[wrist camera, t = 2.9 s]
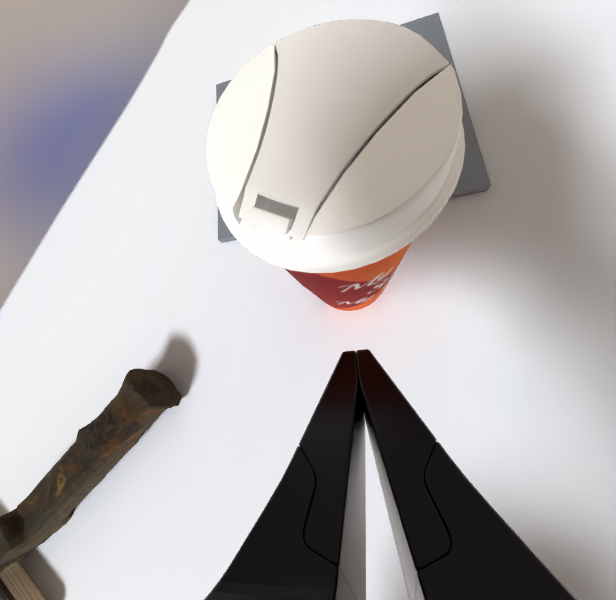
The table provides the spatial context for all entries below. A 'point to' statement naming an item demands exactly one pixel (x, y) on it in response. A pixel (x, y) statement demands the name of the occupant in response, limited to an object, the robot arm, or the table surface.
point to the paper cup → (337, 153)
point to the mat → (473, 165)
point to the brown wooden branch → (86, 463)
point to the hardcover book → (17, 585)
